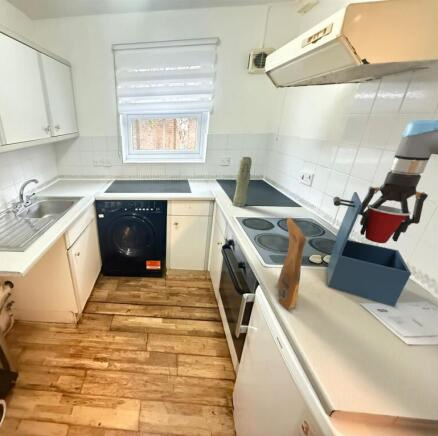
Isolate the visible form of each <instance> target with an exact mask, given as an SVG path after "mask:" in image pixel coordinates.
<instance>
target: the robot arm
mask: <svg viewBox="0 0 438 436" xmlns="http://www.w3.org/2000/svg"><path fill="white" fill-rule="evenodd" d="M432 155H437V156H438V119H414V120H411V121H409V122H408V124H407V125H406V127H405V129H404V131H403V133H402V135H401V138H400V141H399V144H398V146H397V148H396V152H395V153H394V157H393V159H392V161H391V163H390V167H389V170H390V171H388V172H387V174H386V175H385V179H384V181H383V183H382V185H381V186H369V187H368V192H367V194H366V195H365V197H364V199H363V200H362V201H361V203H362V208H361V210H360V212H359V215H358V216H361V218H360V221H359V224H360V226H361V229H360V231H359V233H360V235H361V236H365V233H366V228H367V226H368V222H369V218H368V216H369V211H370V210H369V209H368V207H367V205H371V206H370V207H372V208H374V209H377V208H378V207H379V206H381V205H382V206H383V204H384V203H386V202H388V201H389V202H392V201H393V202H398V203H399V204H400V209H401V210H402V214H409V212H410V210H409V204H408V203H409V202H408V199H410V198H411V197H413V196H414V198H415V201H414V207H413V211H412V216H411V217H410V215H408V216H407V217H406V218H405V219H404V221H403V222H402V223H401V224H400V225H399V227H398V228H397V230H396V231H395V232H394V234H393V235H392V236H391V239H392V241H393V242H396V243H397V242H398V241H399V239H400V236H401V234H402V233H403V234H405V233H406V232H407V230H408V228H409V226H411V225H413V224H415V225H417V224H419V223H420V221H421V217H422V212H423V207H424V203H425V201H426V200H427V198H428V197H429V195H428V194H427V193H426V192H425V191H421V192H420V191H417V187H418V185H419V183H420V180H421V178H422V176H421V174H424V172H425V169H426V167H427V164H428V162H429V160H430V158H431V157H432ZM379 192H380V193H381V195H380V196H379V197H378V199H376V200H375V202H373V203H372V204H370V202H371V201H372V200H373V198H374V196H375V195H377V194H378V193H379Z"/></svg>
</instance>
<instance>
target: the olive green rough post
mask: <svg viewBox="0 0 438 436" xmlns="http://www.w3.org/2000/svg"><path fill="white" fill-rule="evenodd" d="M252 164H253V161H252V157H250V156H242V157H241V159H240V161H239V165H238V172H237V174H236V181H235V182H236V186H235V190H234V191H235V192H234V195H233V203H232V205H233V206H234V207H238V208H244V207H246V203H247V198H248V197H247V194H248V188H249V184H250V180H251V169H252Z"/></svg>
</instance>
